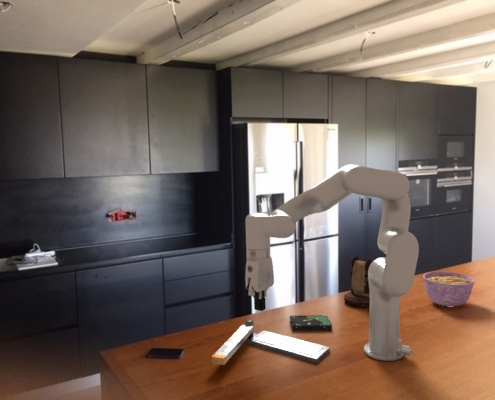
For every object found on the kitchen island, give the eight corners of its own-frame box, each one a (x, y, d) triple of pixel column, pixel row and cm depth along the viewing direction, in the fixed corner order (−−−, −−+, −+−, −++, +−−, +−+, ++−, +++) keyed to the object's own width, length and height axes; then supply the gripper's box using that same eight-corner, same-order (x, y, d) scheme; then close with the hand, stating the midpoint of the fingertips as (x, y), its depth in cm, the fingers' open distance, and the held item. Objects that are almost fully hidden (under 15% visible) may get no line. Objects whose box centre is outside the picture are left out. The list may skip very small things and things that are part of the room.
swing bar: (224, 370, 141) (223, 355, 141) (211, 368, 143) (211, 353, 142) (256, 333, 169) (256, 320, 168) (245, 331, 170) (245, 318, 169)
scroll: (337, 302, 203) (337, 257, 200) (356, 295, 213) (357, 251, 210) (366, 311, 192) (367, 263, 189) (385, 303, 202) (387, 257, 199)
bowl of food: (476, 301, 202) (477, 275, 201) (469, 316, 185) (471, 287, 184) (427, 293, 213) (428, 269, 211) (417, 307, 196) (418, 280, 195)
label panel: (329, 351, 156) (329, 346, 155) (316, 363, 147) (316, 358, 147) (251, 330, 174) (251, 326, 173) (235, 340, 165) (235, 335, 165)
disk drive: (292, 333, 173) (332, 331, 173) (292, 325, 172) (332, 324, 173) (289, 322, 183) (327, 321, 183) (289, 315, 183) (327, 314, 183)
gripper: (255, 259, 139) (256, 319, 141) (280, 249, 151) (282, 304, 153) (234, 257, 143) (236, 314, 145) (261, 247, 155) (262, 300, 158)
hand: (259, 309), depth 149 cm, fingers closed
